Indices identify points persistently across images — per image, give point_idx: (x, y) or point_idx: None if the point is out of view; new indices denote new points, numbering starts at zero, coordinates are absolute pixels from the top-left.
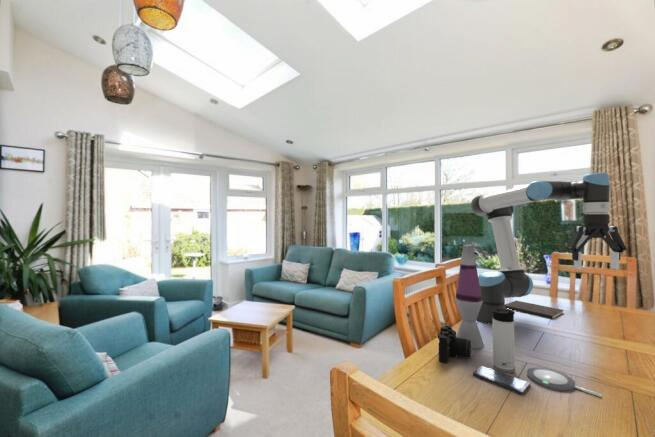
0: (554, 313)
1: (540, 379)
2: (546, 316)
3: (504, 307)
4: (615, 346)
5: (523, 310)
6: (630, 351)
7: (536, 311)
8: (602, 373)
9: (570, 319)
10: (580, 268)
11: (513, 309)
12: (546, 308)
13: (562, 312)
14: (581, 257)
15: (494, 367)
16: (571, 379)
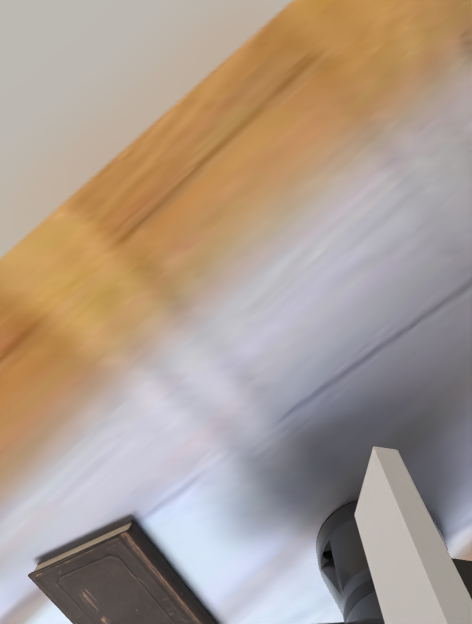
0: (99, 548)
1: None
2: (142, 537)
3: (366, 567)
4: (129, 272)
5: (187, 596)
6: (116, 227)
7: (153, 575)
8: (405, 74)
9: (64, 508)
10: (390, 455)
11: (207, 615)
12: (83, 597)
13: (38, 566)
14: (427, 576)
15: None
16: None
